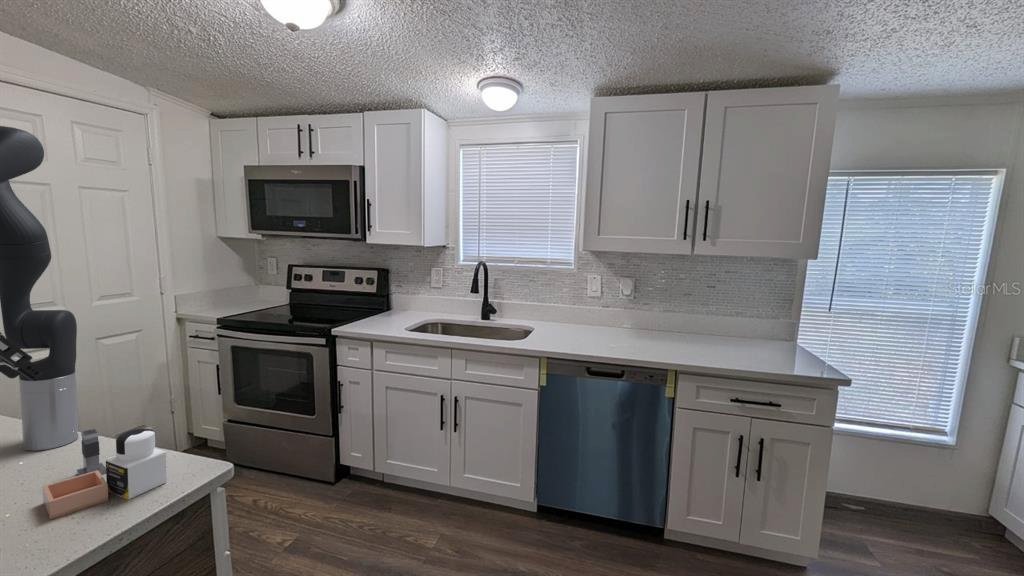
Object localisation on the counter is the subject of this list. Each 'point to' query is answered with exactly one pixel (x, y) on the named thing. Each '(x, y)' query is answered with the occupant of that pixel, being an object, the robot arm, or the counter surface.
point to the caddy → (74, 494)
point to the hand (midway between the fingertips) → (28, 376)
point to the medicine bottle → (135, 464)
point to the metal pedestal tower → (90, 453)
